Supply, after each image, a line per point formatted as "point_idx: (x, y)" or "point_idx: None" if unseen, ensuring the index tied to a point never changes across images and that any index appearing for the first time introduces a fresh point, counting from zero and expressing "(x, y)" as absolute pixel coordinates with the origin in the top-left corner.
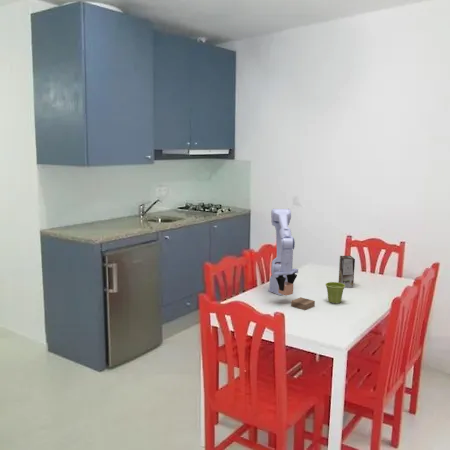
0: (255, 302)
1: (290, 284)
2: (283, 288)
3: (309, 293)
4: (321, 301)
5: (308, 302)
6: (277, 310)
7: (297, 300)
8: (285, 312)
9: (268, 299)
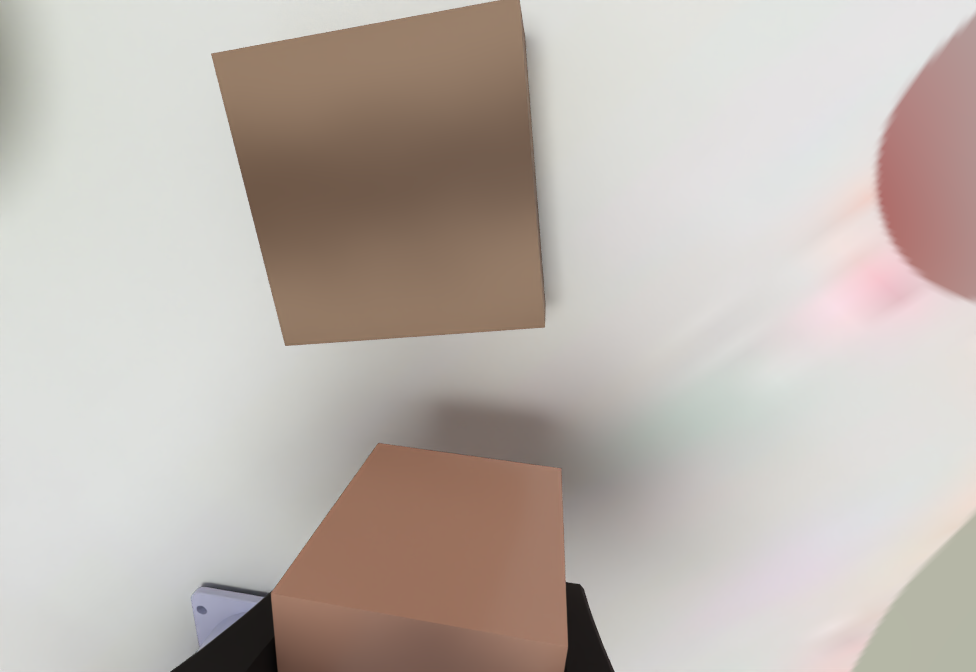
0: (770, 657)
1: (373, 622)
2: (568, 618)
3: (28, 452)
4: (58, 162)
5: (365, 67)
6: (853, 311)
7: (442, 276)
8: (853, 169)
9: None
